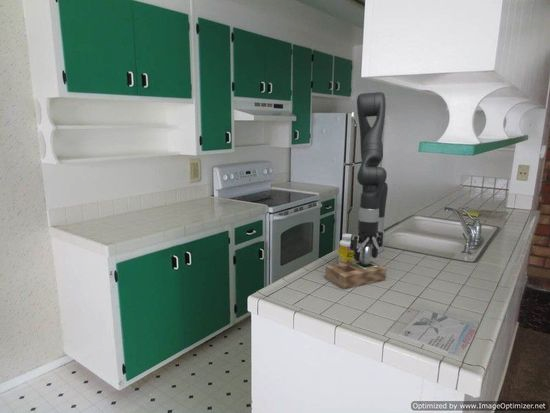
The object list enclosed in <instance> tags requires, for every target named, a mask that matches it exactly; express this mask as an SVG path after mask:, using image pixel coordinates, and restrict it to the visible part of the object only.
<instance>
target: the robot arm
mask: <svg viewBox="0 0 550 413" xmlns="http://www.w3.org/2000/svg"><path fill="white" fill-rule="evenodd" d="M386 103H387V102H386V96H385V93H384V92H382V91H379V92H378V91H377V92H367V93H366V92H365V93H360V94H358V96H357V98H356V108H357V109H356V111H357V117H358V125H359V136H360V157H361V163H360V167H359V170H358V173H357V176H356V179H357V182H358V184H360V185H361V186H362V190H361V191H362V192H361V194H360V202H359V205H360V206H359V211H358V222H357V231H358V233H357V235H356V234H352V236H351V243H350V249H351V250H353V251H354V260H356V261H360V259H361V249H362V248H363V247H364V246H365V245H371V257H372V258H374V259H377V257H378V254H380V253H382V252H384V248H385V246H384V245H385V236H386V234H385V233H386V231H384V229H385V227H384V226H385V214H386V207H387V206H386V205H387V199H388V187H389V186H388V183H387V182H386V181H387V177H388V174H387V170H386V169H385V168H384V167H382V166H381V167H380V166H379V165H380V164H381V163H382V160H383V158H384V152H383V151H384V147H383V145H384V144H383V140H382V138H383V133H384V132H383V131H384V126H385V118H386V117H385V116H386V105H387V104H386ZM368 117H376V119H375V121H374V122H373V125H372V126H371V125H370V123H369V121H368ZM353 245H354V247H353Z"/></svg>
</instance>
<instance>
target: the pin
mask: <svg viewBox="0 0 550 413" xmlns="http://www.w3.org/2000/svg"><path fill="white" fill-rule="evenodd" d="M371 257H372V253H371V245H365V246H364V247H363V248H362V249H361V250H360V259H361V265H360V266H362V267H363V268H366V267H370V261H371Z"/></svg>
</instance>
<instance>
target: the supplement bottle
mask: <svg viewBox="0 0 550 413" xmlns="http://www.w3.org/2000/svg"><path fill="white" fill-rule="evenodd" d="M352 235H353V234H351V233H343V234H342V237H341V238H342V239H341V240H340V241H339V244H338V258H337V259H338V260H337V261H338V263H343V262H349V261H354V260H355V259H354V251H353V250H351V249H350V243H351V236H352ZM353 247H354V245H353ZM338 263H337V264H338Z"/></svg>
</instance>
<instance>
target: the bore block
mask: <svg viewBox="0 0 550 413" xmlns="http://www.w3.org/2000/svg"><path fill="white" fill-rule="evenodd" d="M360 265H361V258H360V261H356V260H355V259H354V261H349V262H343V263H334V264H329V265H325V274H324V276H325V277H324V278H325V279H326V280H328V281H329V282H331V283H333V284H335V285H336V286H337V287H339V288H341V289H343V290H348V289H353V288H357V287H362V286H366V285H370V284H375V283H379V282H384V281H386V280H387V278H386V277H387V268H386V267H385V266H383V265H380V264H379V263H377V262H374V261H372V260H370V267H366V268H363V267H362V266H360Z"/></svg>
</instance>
